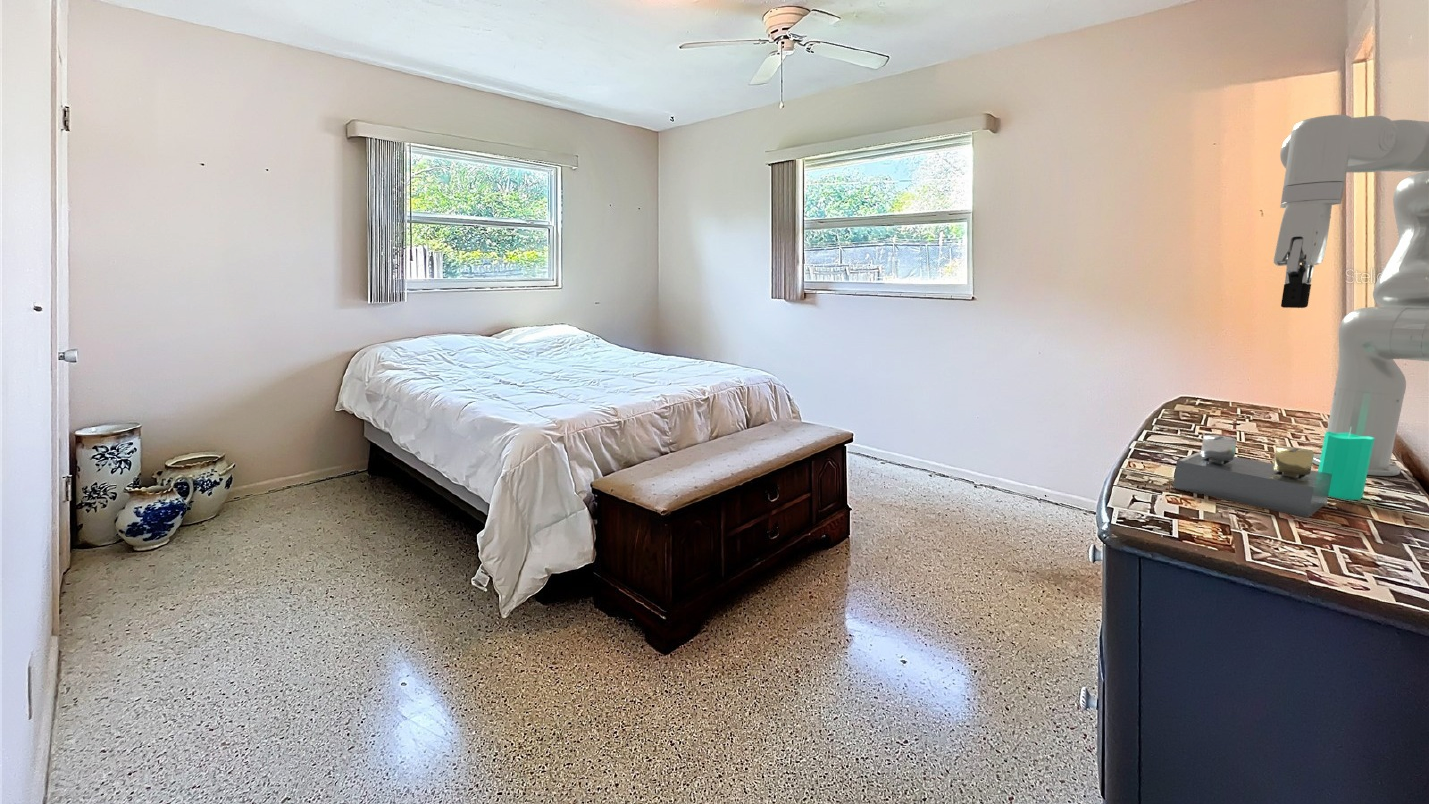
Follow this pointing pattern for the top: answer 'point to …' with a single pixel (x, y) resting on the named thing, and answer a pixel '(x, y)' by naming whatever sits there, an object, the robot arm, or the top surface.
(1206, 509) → the top surface
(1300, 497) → the mount
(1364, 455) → the candle
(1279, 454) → the knob
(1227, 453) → the knob
